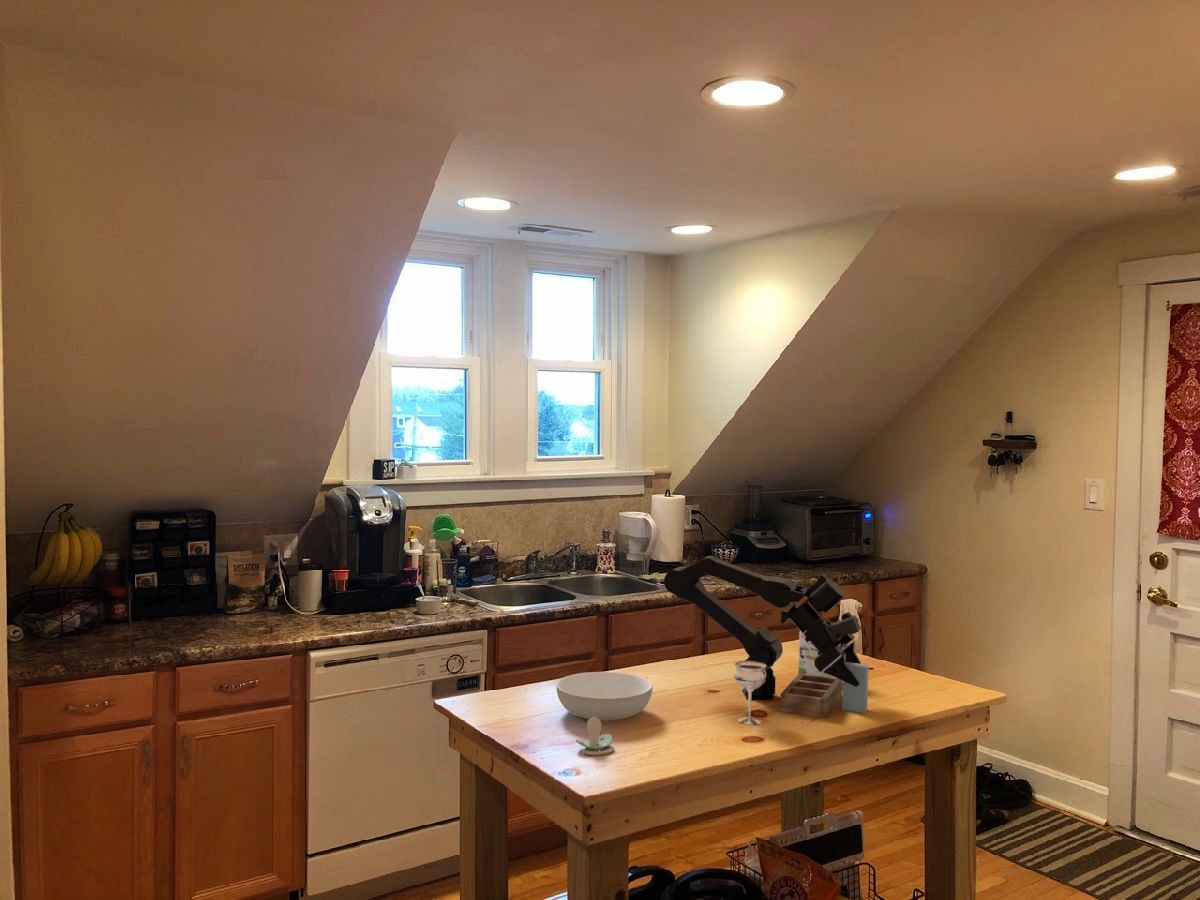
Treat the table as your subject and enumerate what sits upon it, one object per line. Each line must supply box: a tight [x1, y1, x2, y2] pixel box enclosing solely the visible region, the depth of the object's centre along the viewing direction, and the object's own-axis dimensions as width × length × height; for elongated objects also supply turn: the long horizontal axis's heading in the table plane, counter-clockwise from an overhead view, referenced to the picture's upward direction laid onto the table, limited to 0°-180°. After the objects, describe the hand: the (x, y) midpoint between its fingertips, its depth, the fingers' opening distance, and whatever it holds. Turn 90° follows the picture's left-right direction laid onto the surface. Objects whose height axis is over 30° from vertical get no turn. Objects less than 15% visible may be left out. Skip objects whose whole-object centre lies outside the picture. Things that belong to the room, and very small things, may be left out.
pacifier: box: [575, 717, 615, 756], centre depth 179 cm, size 7×6×6 cm
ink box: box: [797, 630, 836, 678], centre depth 230 cm, size 8×5×12 cm, turn 32°
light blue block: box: [841, 662, 869, 714], centre depth 206 cm, size 5×3×10 cm, turn 65°
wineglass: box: [733, 660, 766, 726], centre depth 198 cm, size 7×7×12 cm
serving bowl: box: [555, 671, 654, 722], centre depth 200 cm, size 21×21×7 cm
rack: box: [779, 673, 843, 719], centre depth 210 cm, size 10×19×4 cm, turn 155°
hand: (861, 680), depth 206 cm, fingers open, 9 cm apart
